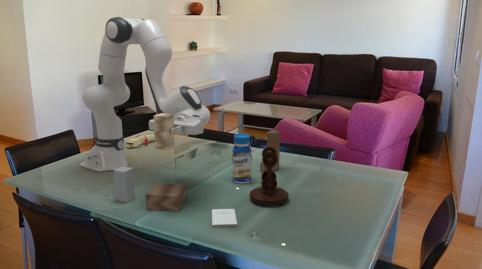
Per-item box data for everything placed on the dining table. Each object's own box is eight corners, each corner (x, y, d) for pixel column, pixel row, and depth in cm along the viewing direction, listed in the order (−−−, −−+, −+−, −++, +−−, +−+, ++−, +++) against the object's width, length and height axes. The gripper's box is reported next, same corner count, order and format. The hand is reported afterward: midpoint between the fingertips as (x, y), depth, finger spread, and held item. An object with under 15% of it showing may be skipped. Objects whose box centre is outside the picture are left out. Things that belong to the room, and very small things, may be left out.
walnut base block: (146, 210, 153) (145, 194, 152) (156, 197, 165) (156, 182, 164) (179, 211, 152) (178, 196, 151) (187, 198, 164) (186, 184, 162)
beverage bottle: (254, 179, 185) (255, 134, 180) (246, 185, 177) (247, 138, 172) (237, 176, 188) (237, 132, 183) (228, 182, 181) (228, 136, 176)
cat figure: (154, 140, 254) (121, 146, 233) (154, 126, 252) (121, 130, 232) (166, 143, 248) (133, 149, 228) (166, 128, 247) (133, 133, 226)
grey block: (115, 200, 161) (113, 170, 159) (124, 195, 166) (122, 166, 163) (126, 202, 159) (124, 172, 157) (134, 197, 164) (133, 168, 161)
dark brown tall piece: (249, 192, 170) (250, 143, 165) (286, 193, 169) (288, 144, 164) (249, 207, 155) (249, 154, 150) (289, 208, 155) (291, 155, 150)
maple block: (155, 148, 152) (153, 115, 149) (163, 145, 157) (161, 113, 154) (167, 150, 150) (165, 116, 147) (175, 146, 155) (173, 114, 152)
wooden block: (267, 173, 191) (268, 134, 187) (259, 171, 194) (260, 133, 190) (279, 169, 198) (280, 131, 194) (271, 167, 201) (272, 129, 197)
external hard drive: (212, 229, 140) (211, 213, 152) (237, 228, 140) (234, 212, 152) (212, 224, 139) (211, 209, 151) (237, 223, 140) (234, 208, 152)
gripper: (160, 112, 167) (138, 119, 154) (206, 117, 159) (187, 124, 146) (161, 128, 168) (139, 136, 156) (207, 133, 160) (187, 142, 148)
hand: (162, 130), depth 151 cm, fingers closed on maple block, 5 cm apart
